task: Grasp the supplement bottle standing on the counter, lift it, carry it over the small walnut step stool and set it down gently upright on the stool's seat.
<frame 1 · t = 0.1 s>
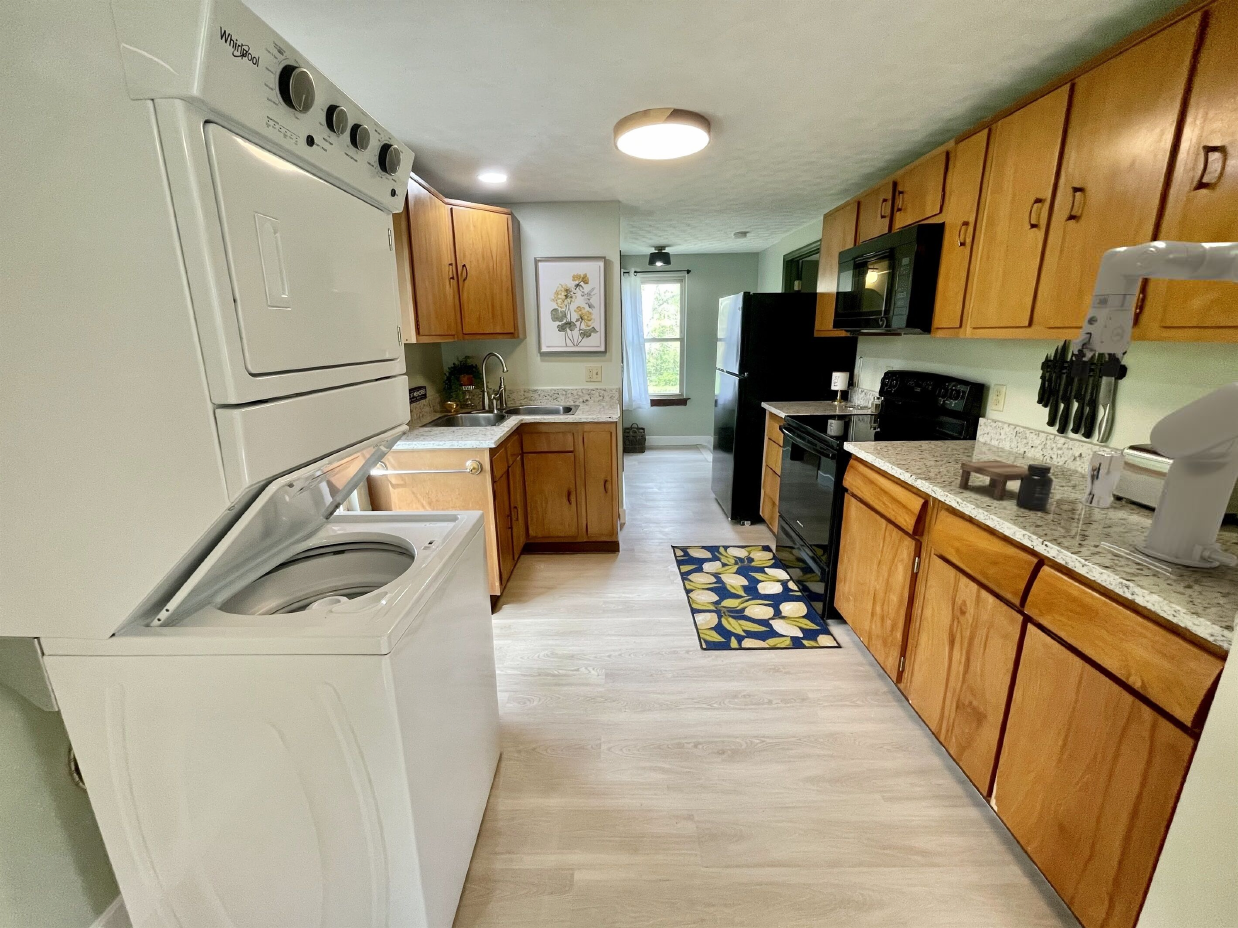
hand: (1093, 377, 123), 37 cm above the counter, tool pointing down, fingers open, 9 cm apart
walnut stool: (995, 492, 152), on the counter
beer glass: (1095, 505, 142), on the counter
supplement bottle: (1030, 507, 140), on the counter
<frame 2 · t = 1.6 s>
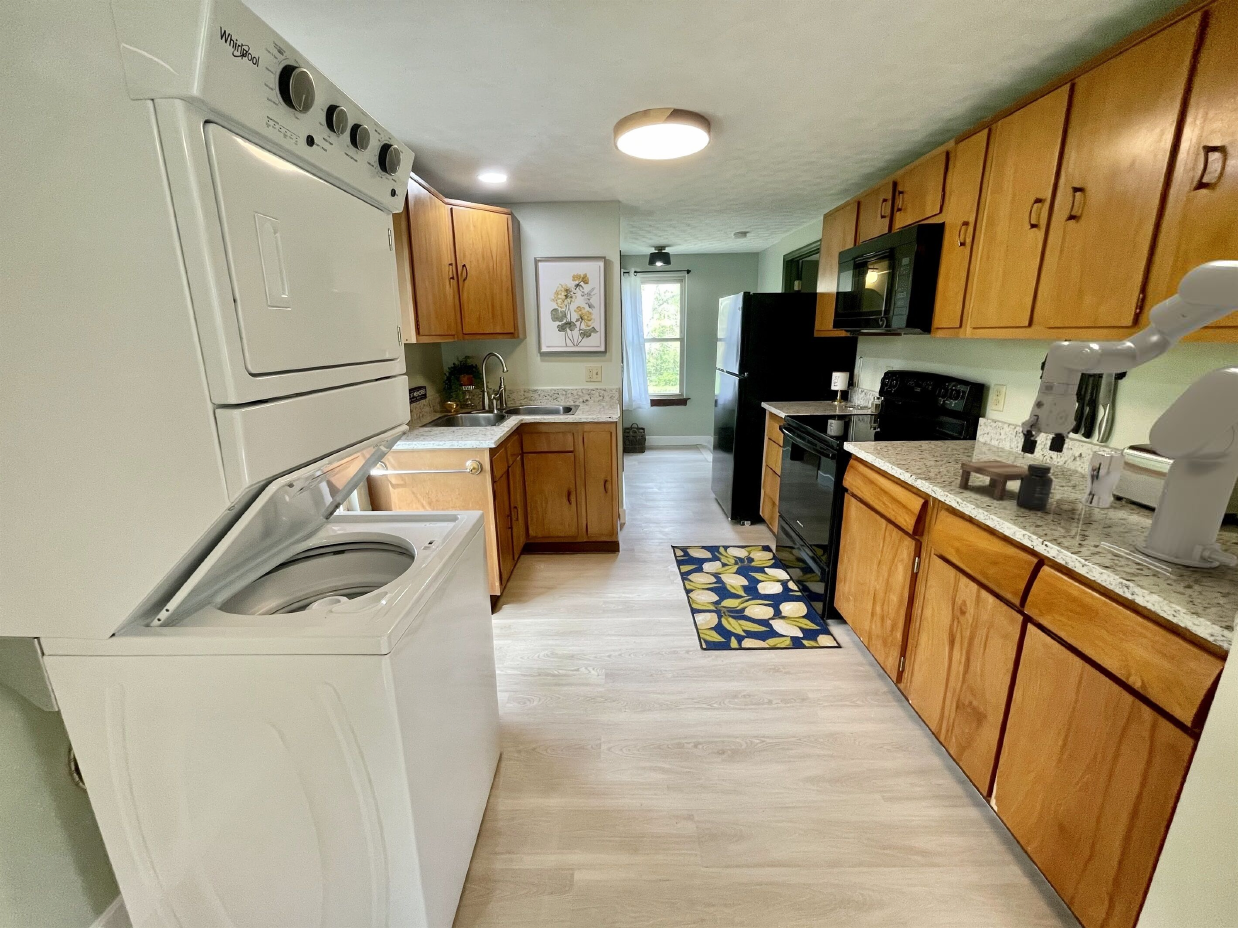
hand: (1041, 452, 136), 16 cm above the counter, tool pointing down, fingers open, 9 cm apart
nothing on the counter moved.
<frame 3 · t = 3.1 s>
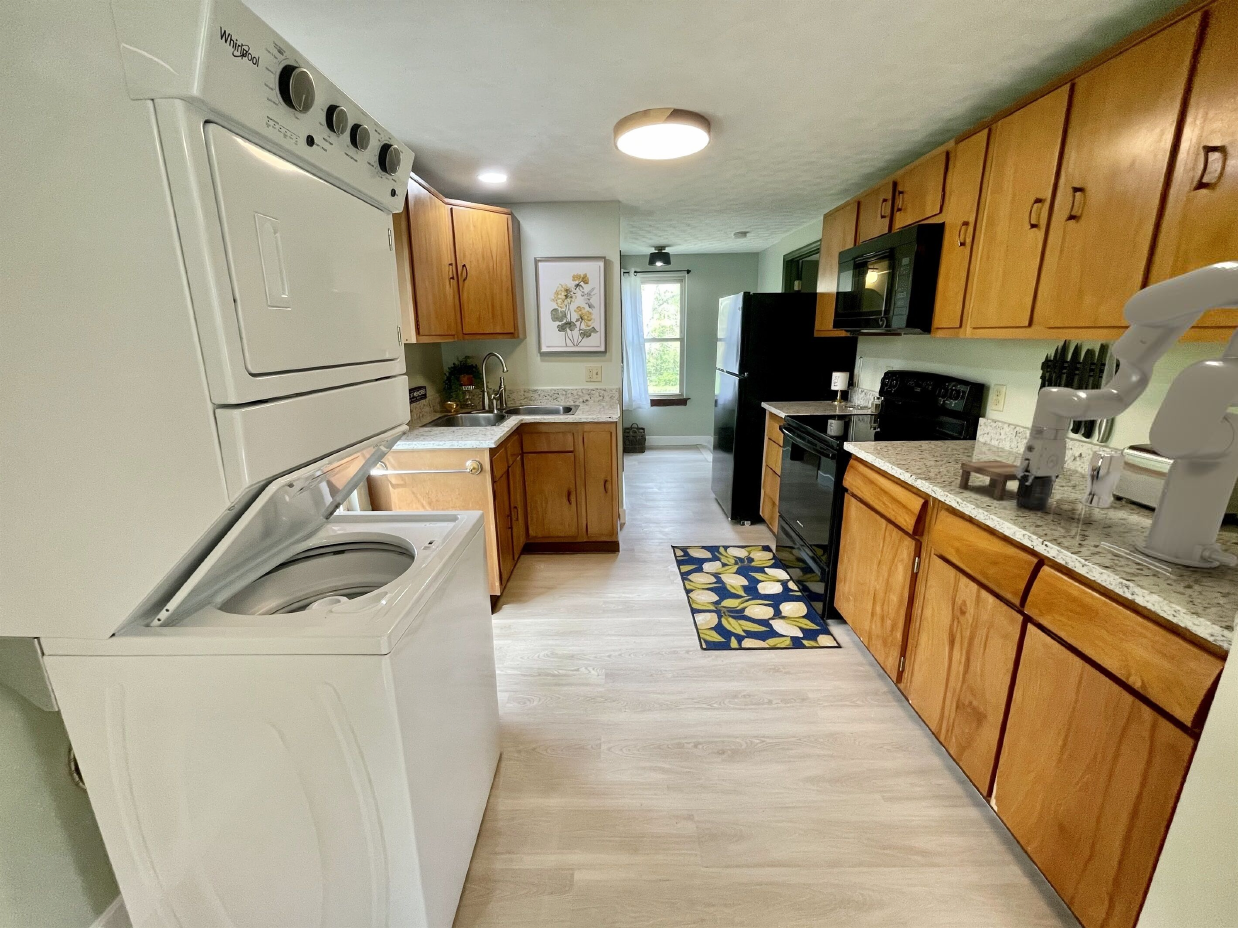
hand: (1033, 496, 139), 3 cm above the counter, tool pointing down, fingers closed on supplement bottle, 6 cm apart
supplement bottle: (1030, 507, 140), on the counter, touching gripper
everything else where it was.
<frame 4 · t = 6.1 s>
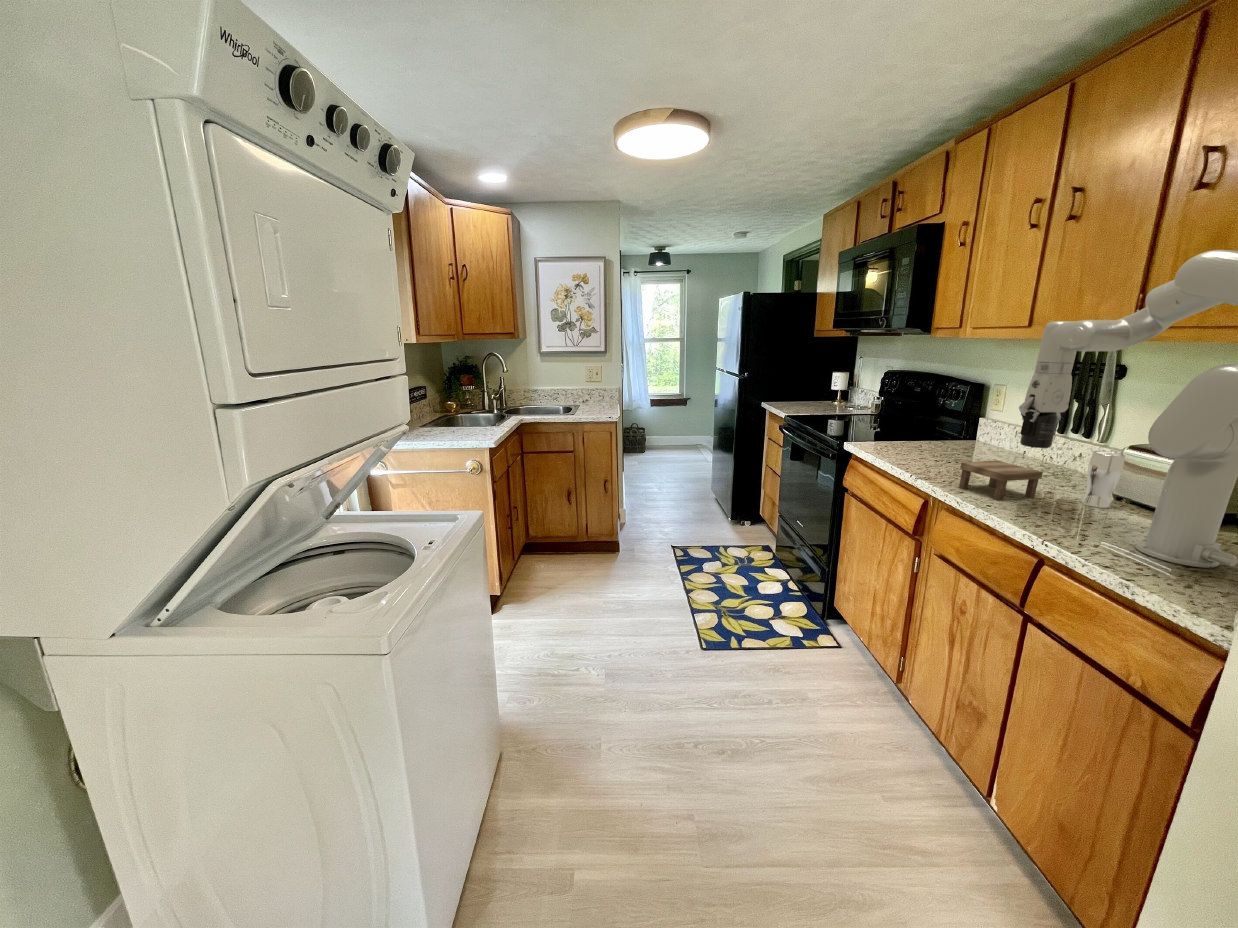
hand: (1037, 434, 137), 20 cm above the counter, tool pointing down, fingers closed on supplement bottle, 6 cm apart
supplement bottle: (1034, 446, 138), point 17 cm above the counter, touching gripper
everything else where it was.
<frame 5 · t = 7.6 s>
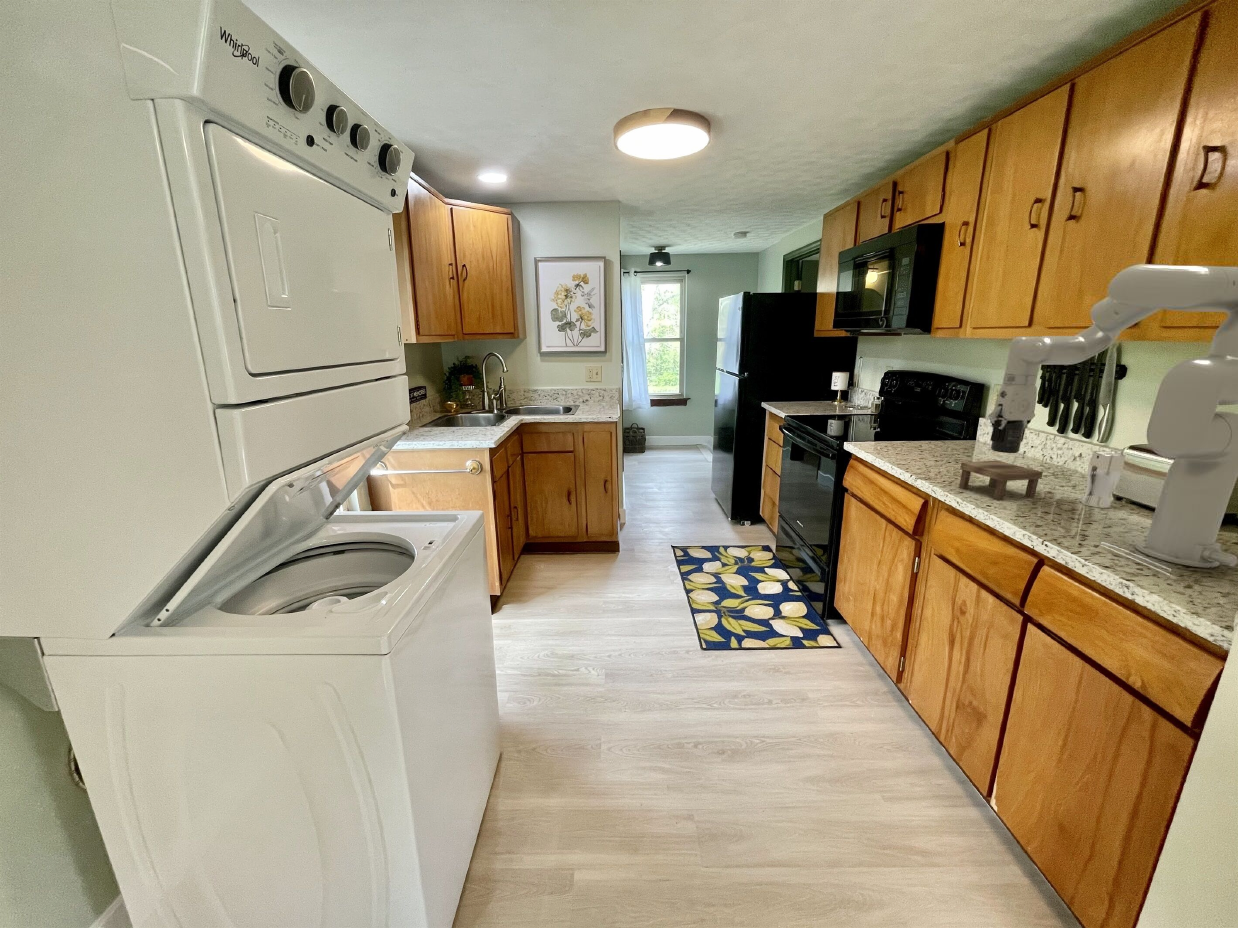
hand: (1006, 440, 148), 16 cm above the counter, tool pointing down, fingers closed on supplement bottle, 6 cm apart
supplement bottle: (1004, 451, 149), point 13 cm above the counter, touching gripper
everything else where it was.
when the fingers open (12 cm above the counter, at t = 8.9 s): supplement bottle drops 1 cm, resting on walnut stool.
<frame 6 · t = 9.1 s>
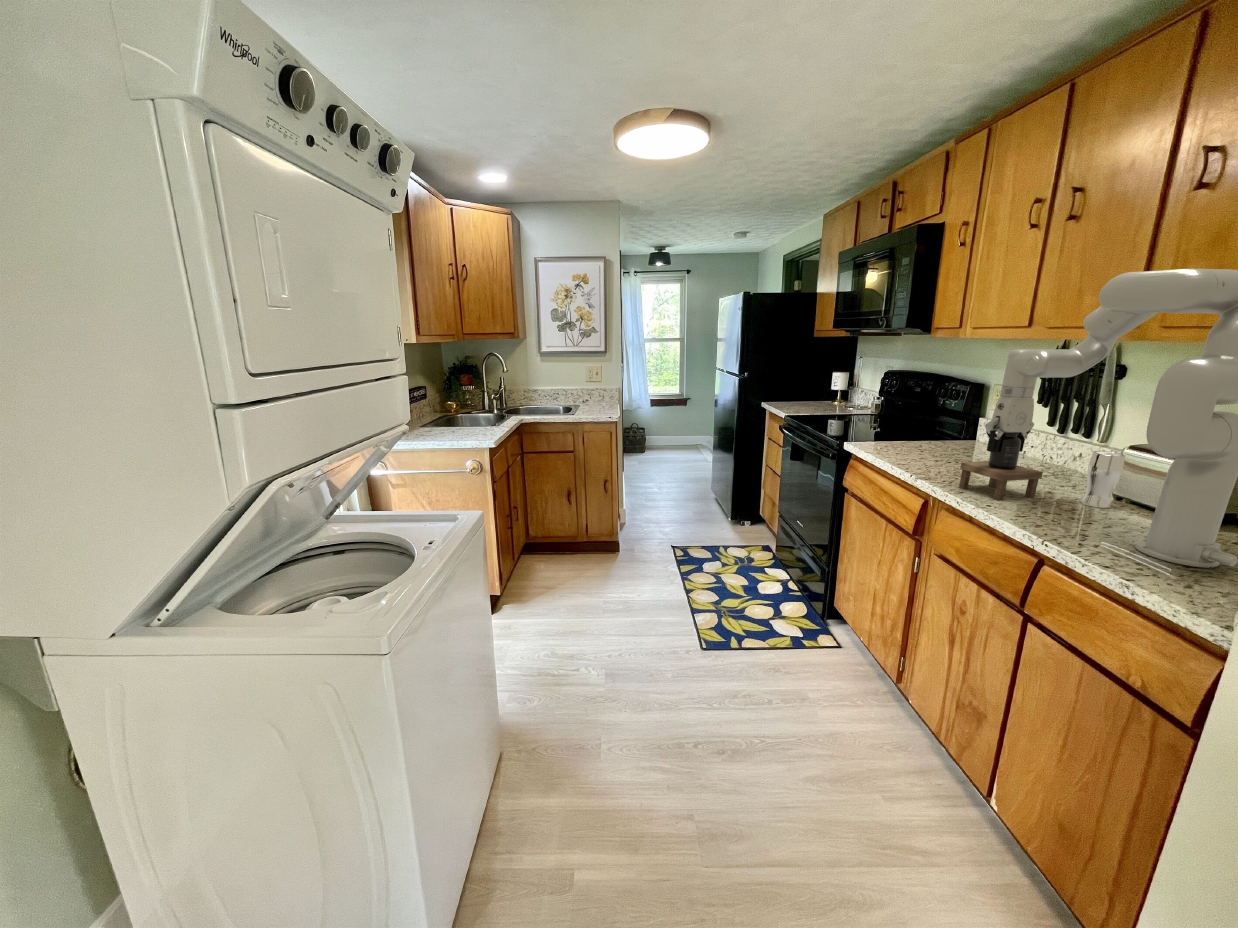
hand: (1004, 451, 149), 13 cm above the counter, tool pointing down, fingers open, 8 cm apart
supplement bottle: (1001, 467, 150), point 8 cm above the counter, touching walnut stool
everything else where it was.
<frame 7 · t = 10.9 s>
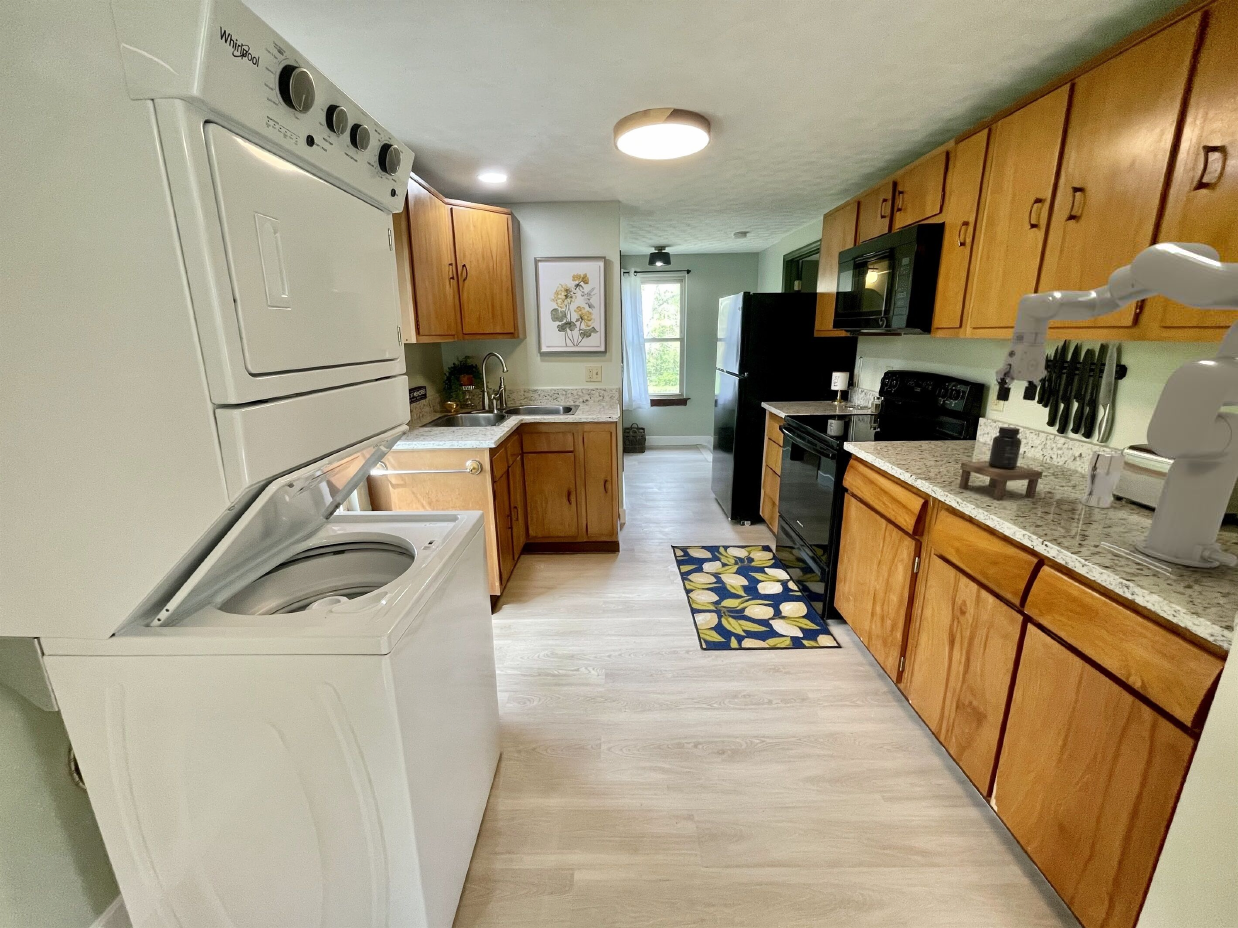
hand: (1015, 400, 145), 28 cm above the counter, tool pointing down, fingers open, 9 cm apart
nothing on the counter moved.
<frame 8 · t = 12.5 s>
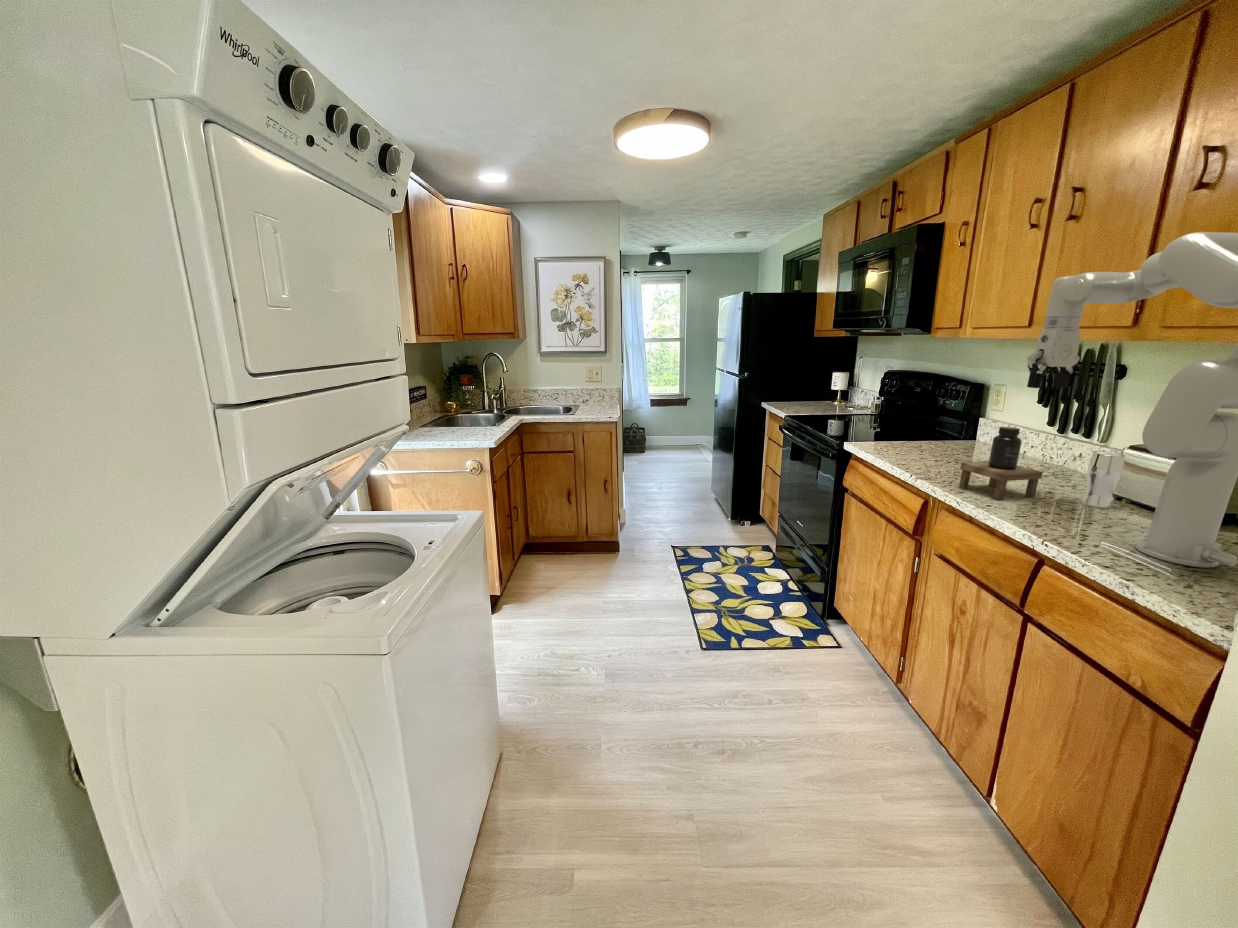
hand: (1047, 387, 140), 32 cm above the counter, tool pointing down, fingers open, 9 cm apart
nothing on the counter moved.
at the end: supplement bottle inside the target area on the walnut stool (0.2 cm from its centre), point 7.8 cm above the walnut stool's base; supplement bottle tilted 0°; the gripper is holding nothing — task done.
